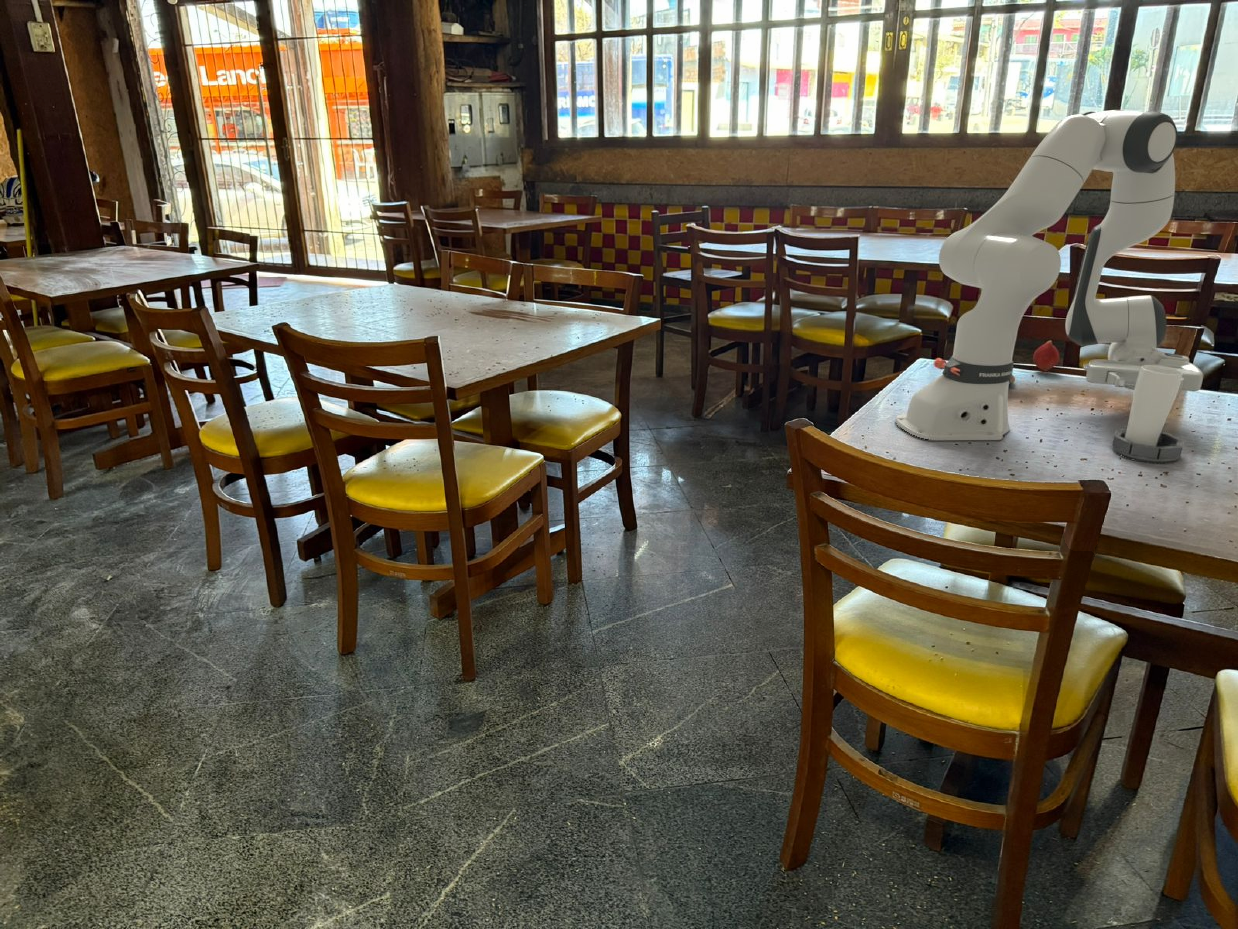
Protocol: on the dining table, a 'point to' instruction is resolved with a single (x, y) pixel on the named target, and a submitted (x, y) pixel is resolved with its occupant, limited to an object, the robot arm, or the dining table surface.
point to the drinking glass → (1152, 403)
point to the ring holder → (1149, 448)
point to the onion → (1046, 356)
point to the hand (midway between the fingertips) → (1147, 385)
